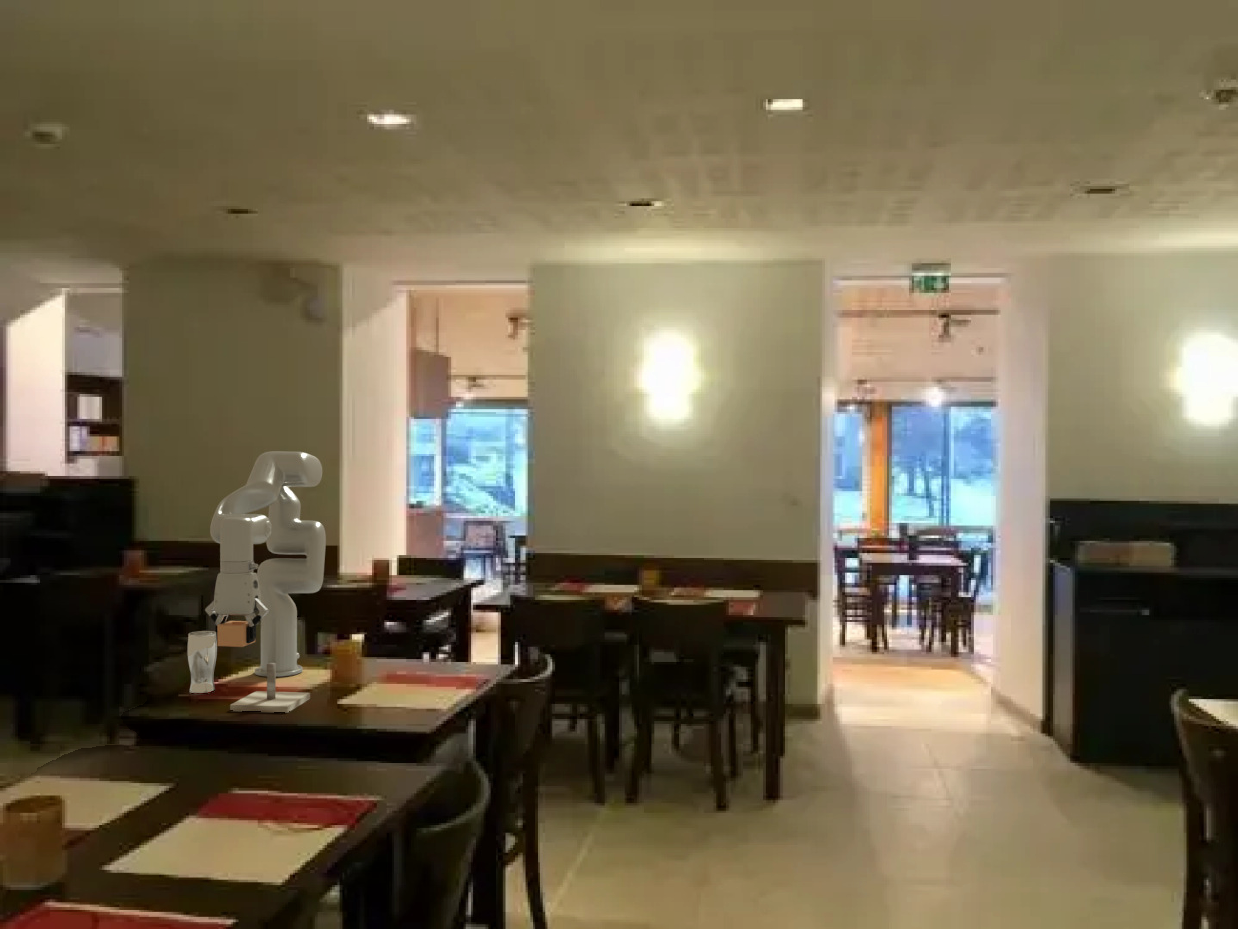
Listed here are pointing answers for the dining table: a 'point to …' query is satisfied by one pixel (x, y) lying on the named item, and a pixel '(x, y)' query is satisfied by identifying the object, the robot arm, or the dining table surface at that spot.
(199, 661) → the beer glass
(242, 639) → the orange square block
